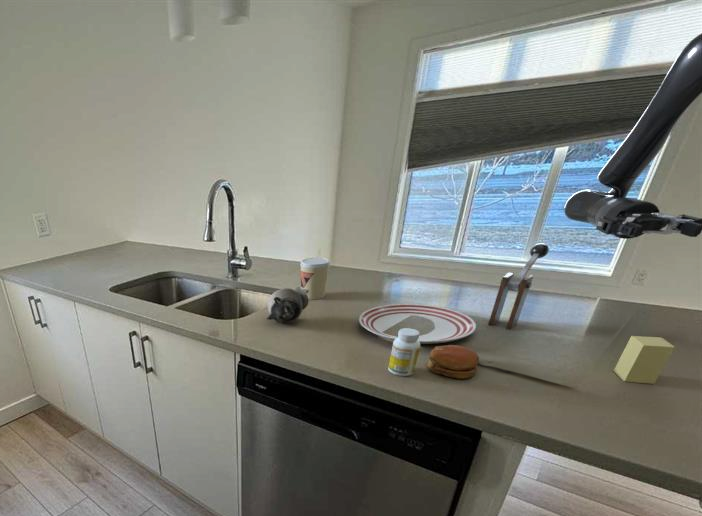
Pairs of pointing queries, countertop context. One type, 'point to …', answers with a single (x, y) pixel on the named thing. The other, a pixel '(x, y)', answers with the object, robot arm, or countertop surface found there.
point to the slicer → (517, 305)
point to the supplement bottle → (404, 352)
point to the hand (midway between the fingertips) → (667, 231)
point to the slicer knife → (528, 266)
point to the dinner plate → (445, 320)
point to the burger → (453, 361)
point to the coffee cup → (314, 277)
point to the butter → (643, 359)
